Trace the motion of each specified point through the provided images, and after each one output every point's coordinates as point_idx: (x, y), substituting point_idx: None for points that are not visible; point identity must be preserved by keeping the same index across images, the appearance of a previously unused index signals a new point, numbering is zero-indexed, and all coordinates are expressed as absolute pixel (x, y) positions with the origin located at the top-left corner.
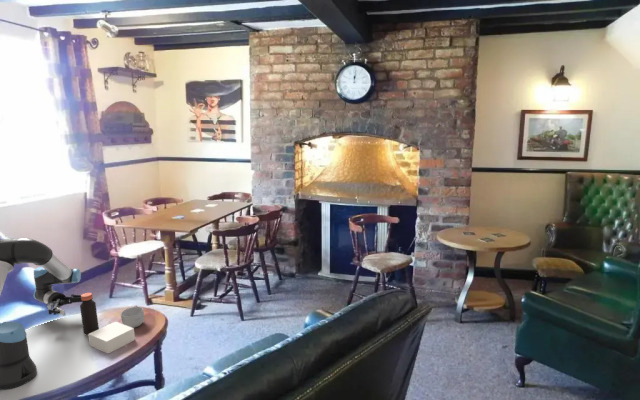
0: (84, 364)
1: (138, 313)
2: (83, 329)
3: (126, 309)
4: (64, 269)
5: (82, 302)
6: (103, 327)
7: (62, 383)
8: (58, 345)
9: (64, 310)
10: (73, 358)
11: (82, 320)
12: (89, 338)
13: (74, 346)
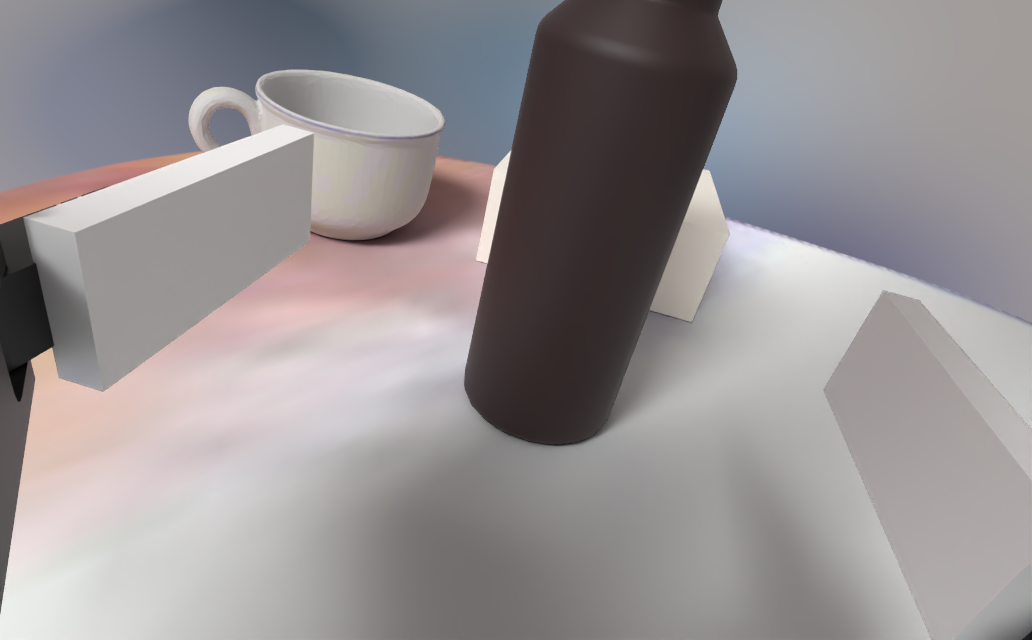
0: (809, 281)
1: (387, 86)
2: (623, 376)
3: (304, 118)
4: None
5: (712, 13)
6: None
7: (937, 295)
8: (878, 523)
9: (889, 295)
10: (835, 336)
11: (662, 273)
12: (714, 265)
13: (770, 395)
